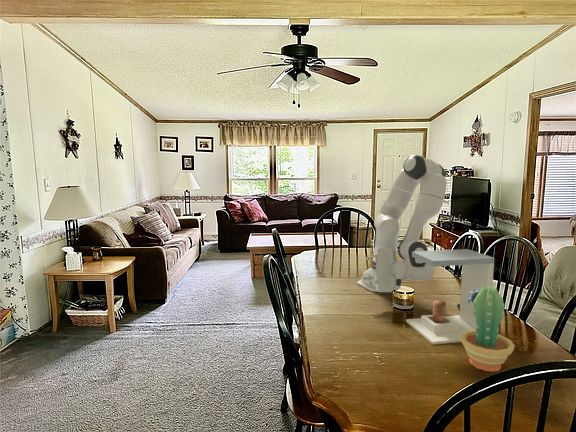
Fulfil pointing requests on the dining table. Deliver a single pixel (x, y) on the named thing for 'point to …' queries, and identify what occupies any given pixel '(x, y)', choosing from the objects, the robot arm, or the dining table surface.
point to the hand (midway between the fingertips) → (366, 268)
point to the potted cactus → (486, 331)
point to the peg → (439, 311)
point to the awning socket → (473, 277)
